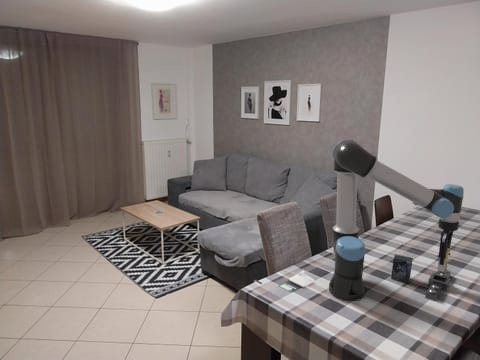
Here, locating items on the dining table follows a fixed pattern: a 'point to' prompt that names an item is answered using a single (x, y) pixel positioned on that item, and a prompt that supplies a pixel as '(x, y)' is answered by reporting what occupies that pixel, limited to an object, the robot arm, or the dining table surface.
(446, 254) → the pin
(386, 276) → the dining table surface
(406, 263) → the box
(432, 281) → the studded dark bracket
